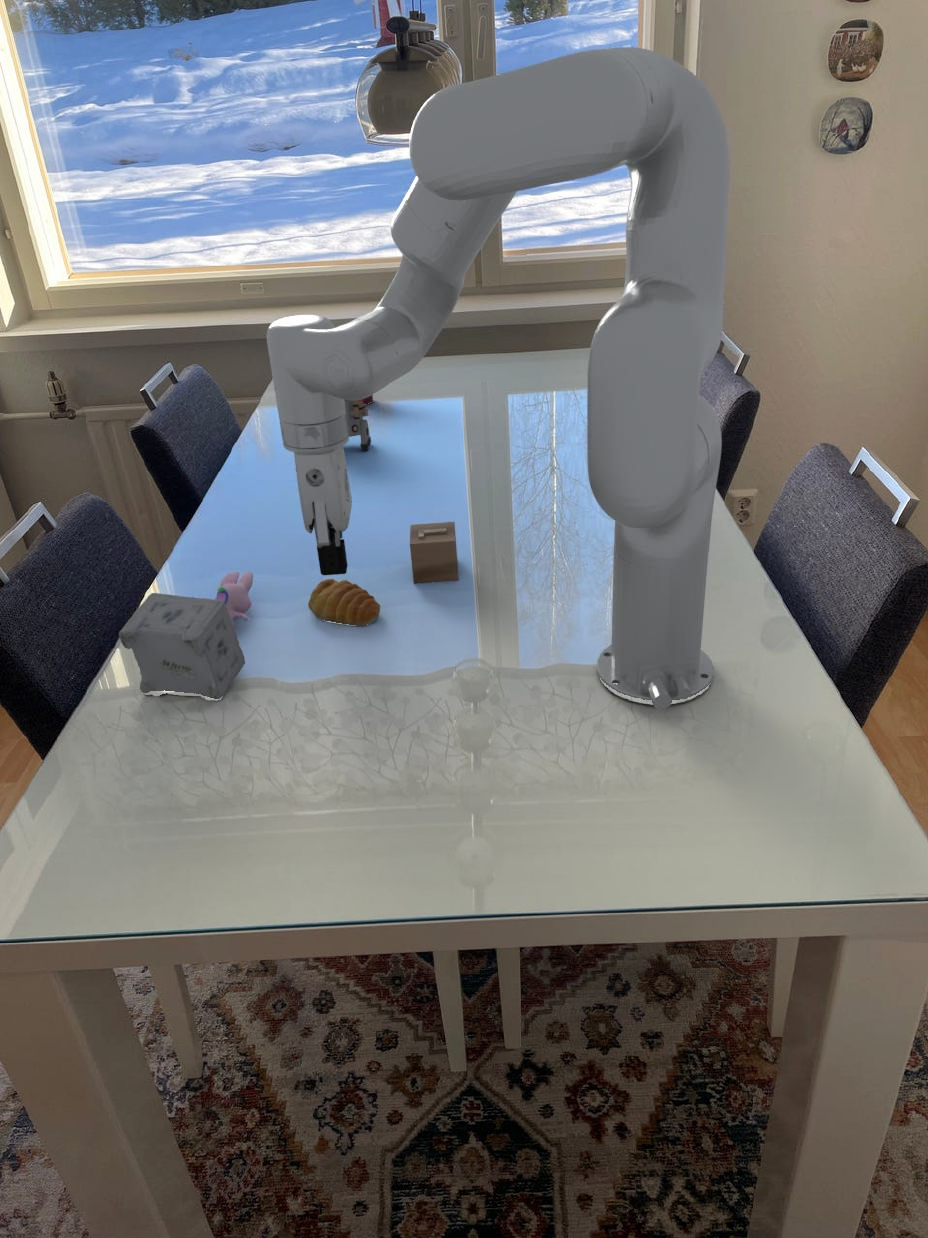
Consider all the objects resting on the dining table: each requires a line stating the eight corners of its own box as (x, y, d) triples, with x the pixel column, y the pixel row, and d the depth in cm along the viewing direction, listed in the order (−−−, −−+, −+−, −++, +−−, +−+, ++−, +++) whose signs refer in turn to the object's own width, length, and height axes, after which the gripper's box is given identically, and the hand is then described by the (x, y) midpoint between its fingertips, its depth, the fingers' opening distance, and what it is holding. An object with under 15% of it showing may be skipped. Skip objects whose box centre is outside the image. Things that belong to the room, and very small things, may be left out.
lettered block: (458, 581, 125) (455, 538, 122) (413, 584, 125) (409, 541, 122) (457, 560, 130) (454, 519, 127) (414, 563, 130) (410, 522, 127)
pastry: (393, 612, 119) (390, 586, 117) (359, 637, 115) (355, 610, 113) (338, 594, 124) (334, 569, 122) (303, 617, 120) (299, 591, 118)
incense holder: (136, 702, 105) (112, 623, 100) (176, 662, 112) (156, 586, 107) (213, 713, 102) (193, 632, 97) (249, 671, 109) (232, 593, 104)
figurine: (376, 433, 178) (367, 354, 170) (366, 455, 168) (356, 372, 160) (329, 434, 179) (318, 356, 171) (316, 456, 169) (304, 374, 161)
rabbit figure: (244, 656, 115) (269, 581, 126) (233, 619, 111) (259, 545, 122) (194, 657, 115) (223, 582, 127) (181, 621, 111) (213, 546, 123)
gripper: (342, 451, 100) (361, 599, 110) (352, 406, 113) (367, 543, 123) (272, 455, 100) (297, 603, 110) (290, 410, 113) (310, 546, 123)
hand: (334, 571), depth 116 cm, fingers closed
